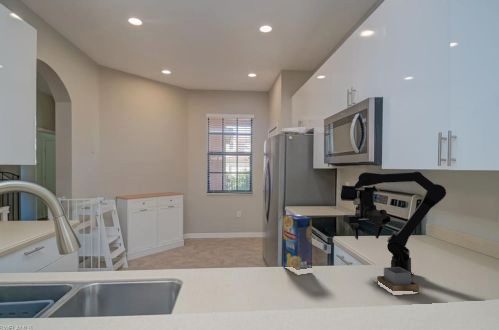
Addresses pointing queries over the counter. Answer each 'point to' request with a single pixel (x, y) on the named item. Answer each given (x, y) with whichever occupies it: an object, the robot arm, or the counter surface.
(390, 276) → the grey plastic crate
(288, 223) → the blue cardboard box
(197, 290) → the counter surface
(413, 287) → the walnut crate
